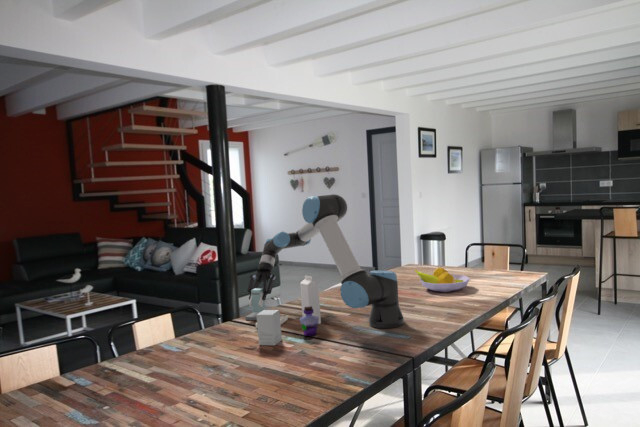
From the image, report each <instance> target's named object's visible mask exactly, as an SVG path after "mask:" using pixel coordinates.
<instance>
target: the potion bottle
mask: <svg viewBox="0 0 640 427" xmlns="http://www.w3.org/2000/svg"><path fill="white" fill-rule="evenodd" d="M312 313H314V312H313V309H312V306H305V307H304V314H306V316H304V317H299V323H300V326H301V329H302V331H303V335H304V337H307V338H308V337H314V336H317V335H318V333H317V331H318V326H319V324H318V320H319V317H318V316H313V315H312Z"/></svg>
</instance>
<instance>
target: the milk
mask: <svg viewBox="0 0 640 427" xmlns="http://www.w3.org/2000/svg"><path fill="white" fill-rule="evenodd" d="M299 290H300V300H301V302H300V303H301V313H302V317H304V316H306V314H304V307H305V306H312V309H313V312H314V313H312V315H313V316H318V317H319V320H318V325H321V324H322V319H321V318H322V317H321V304H320V302H321V301H320V292H319V282H318V281H315V280H314V279H313V276H310V275H304V279H303V280H302V281H301V282H300V283H299Z"/></svg>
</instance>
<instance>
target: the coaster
mask: <svg viewBox="0 0 640 427" xmlns="http://www.w3.org/2000/svg"><path fill="white" fill-rule="evenodd" d="M257 314H258V313H253V312H251V313H249V314H248V315H246V316H245V321H257V317H256V315H257Z"/></svg>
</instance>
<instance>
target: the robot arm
mask: <svg viewBox="0 0 640 427" xmlns="http://www.w3.org/2000/svg"><path fill="white" fill-rule="evenodd" d="M301 211H302V213H301V214H302V218H303V219H304V221H305V222H306V223H305V224H304V225H303V226H302V227H301V228H299V229H298V230H297V231H295V232H285V231H282V230H281V231H279V232H278V233H276V234H275V235H274V236H273V237H271V238H267V239H266V240H265V243H264V245H263V249H262V253H261V257H260V260H259V263H258V267H257V272H256V273H255V274H254V275H253V274H251V275H250V276H249V277H250V279H249V283H248V287H247V293H248V295H249V296H248V300H249V302H248V305H249V307H250V308H253V306H252V295H251V290H253V289H254V288H259V286H260V284H262V283H263V287H262V288H263V292H264V293H261V297H260V300H259V304H258V305H259V306H260V307H262V305H263V301H266V300H267V299H266V298H267V295H271V294H272V291H273V286H274V282H275V281H276V279H277V277H276V275H275V274H273V270H274V266H275V262H276V259H277V255H278V254H279V253H280V252H281V251H282V250H284V249H290V248H296V247H304V246H307V245H309V244H311V240H312V239H313V238H314V237H315V236H317V235H318V234H320V235H321V236H322V239H323V241H324V243H325V245H326V247H327V248H328V251H329V253H330V255H331V257H332V259H333V261H334V263H335V266H336V267H337V269H338V271H339V273H340V276H341V280H340V284H341V286H340V296H341V299H342V301H343V303H344V304H345V305H346V306H347V307H349V308H351V309H361V308H365V307H367V306H371V310H370V314H369V317H368V324H369V326H371V327H372V328H376V329H394V328H399V327H401V326H403V325H404V323H405V318H404V315H403V312H402V310H401V308H400V307H401V306H400V305H399V304H400V303H399V288H398V287H399V286H398V283H399V282H398V277H397V273H396V272H394V271H391V270H371V271H369V274H368V273H367V271H366V269H363V268H361V267H360V265H359V263H358V261H357V259H356V256H355V255H354V253H353V251H352V249H351V247H350V245H349V244H348V241H347V239H346V238H345V236H344V234H343V231H342V229H341V227H340V226H339V224H338V222H339V221H340V220H341V219H343V218H344V217H345V216H346V215H347V211H348V203H347V201H346V200H345V199H344V197H342V196H341V195H339V194H326V195H314V196H309V197H306V199H305V200H304V201H303V204H302V209H301Z"/></svg>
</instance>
